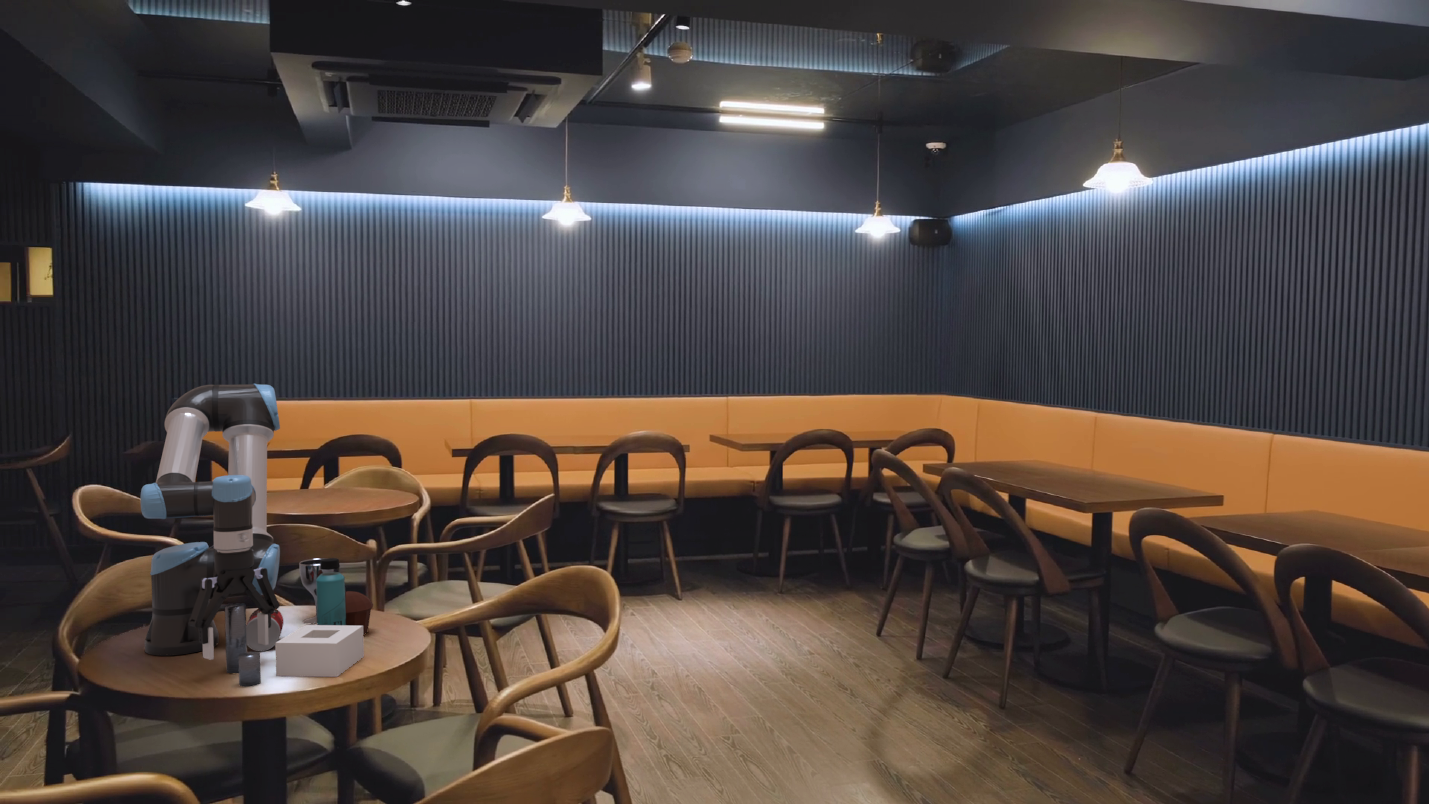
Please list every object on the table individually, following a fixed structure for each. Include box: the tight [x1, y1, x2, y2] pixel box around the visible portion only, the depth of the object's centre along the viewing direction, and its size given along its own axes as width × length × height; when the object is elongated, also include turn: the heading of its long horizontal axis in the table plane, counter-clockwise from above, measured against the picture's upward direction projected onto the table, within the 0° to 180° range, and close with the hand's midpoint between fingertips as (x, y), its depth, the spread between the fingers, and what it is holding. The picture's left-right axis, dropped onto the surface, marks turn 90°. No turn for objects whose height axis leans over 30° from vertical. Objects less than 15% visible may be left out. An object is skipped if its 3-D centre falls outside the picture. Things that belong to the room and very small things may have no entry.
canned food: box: [246, 607, 284, 652], centre depth 237 cm, size 8×8×11 cm
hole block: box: [274, 624, 365, 678], centre depth 220 cm, size 13×14×7 cm
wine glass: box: [299, 557, 334, 625], centre depth 258 cm, size 8×8×15 cm
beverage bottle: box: [315, 557, 347, 625], centre depth 236 cm, size 6×7×20 cm
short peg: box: [238, 651, 262, 688], centre depth 209 cm, size 4×4×6 cm
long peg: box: [224, 602, 248, 674], centre depth 217 cm, size 4×4×14 cm
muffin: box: [345, 590, 374, 636], centre depth 246 cm, size 12×11×10 cm
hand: (236, 651), depth 217 cm, fingers open, 12 cm apart
